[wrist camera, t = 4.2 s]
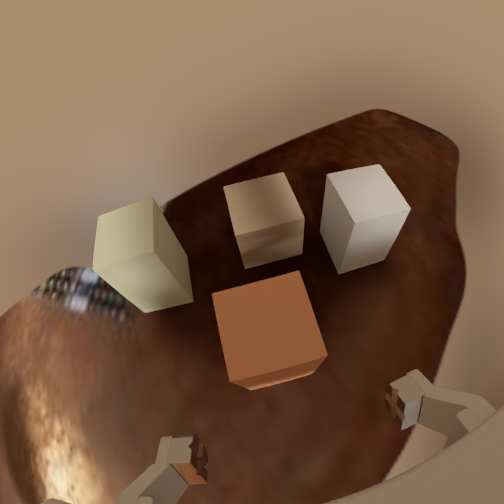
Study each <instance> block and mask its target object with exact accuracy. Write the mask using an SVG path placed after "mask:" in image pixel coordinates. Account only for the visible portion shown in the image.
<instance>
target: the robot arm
mask: <svg viewBox="0 0 504 504" xmlns="http://www.w3.org/2000/svg"><path fill="white" fill-rule="evenodd" d="M385 390H386V391H387V394H386V395H385V405H386V408H387V410H388V412H389V414H390V415H393V416H395V423H396V424H397V425H398V427H399V428H400V430H403V429H405V428H407V427H409V426H411V425H414V424H416V423H417V422H418V424H420V425H423V426H425V427H427V428H430V429H432V430H435V431H437V432H440V433H442V434H445V435H447V436H448V439H447V442H446V444H445V446H444V450H442V451H441V452H439V453H438V454H436V455H434V456H432V457H431V458H429V459H427V460H426V461H424V462H422V463H420V464H418V465H417V466H415V467H413V468H411V469H409V470H407V471H405V472H403V473H401V474H399V475H397V476H395V477H393V478H391V479H388V480H386V481H384V482H382V483H379V484H377V485H375V486H372V487H370V488H367V489H365V490H362V491H359V492H357V493H354V494H351V495H348V496H345V497H343V498H339V499H336V500H333V501H330V502H327V503H323V504H504V404H503V405H502V406H501V407H500V408H499V409H498V410H497V411H496V410H495V409H494V408H493V407H492V406H491V405H490V404H489V403H488V402H487V401H486V400H485V399H484V398H483V397H481V396H479V395H473V394H468V393H463V392H459V391H454V390H449V389H445V388H441V387H438V388H435V387H434V386H433V385H432V384H431V383H430V382H429V380H428V379H427V378H426V377H425V376H424V375H423V374H422V373H421V372H420V371H419V370H417V369H415V370H413V371H411V372H409V373H407V374H404V375H402V376H400V377H398V378H396V379H394V380H392V381H390V382H387V383H386V385H385ZM207 464H208V456H207V452H206V449H205V447H204V446H203V445H202V444H200V443H199V438H198V437H197V435H184V436H169V437H162V438H161V440H160V444H159V449H158V453H157V458H156V463H155V464H152V465H151V466H150V467H149V468H148V469H147V470H146V471H145V472H144V473H142V474H141V475H140V476H139V477H138V478H137V479H136V480H135V481H134V482H133V483H132V484H130V485H129V486H128V487H127V488H126V489H125V490H124V491H123V492H121V493H120V497H119V501H118V504H175V503H176V502H177V501H178V499H179V498H180V497H181V495H182V494H183V493H184V491H185V490H186V489H187V487H188V486H189V485H188V484H202V483H207V473H208V471H207V470H206V469H205V466H206V465H207ZM41 504H70V503H67V502H64V501H61V500H58V499H49V500H46V501H44V502H43V503H41Z"/></svg>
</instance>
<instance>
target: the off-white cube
mask: <svg viewBox="0 0 504 504" xmlns="http://www.w3.org/2000/svg"><path fill="white" fill-rule="evenodd" d="M223 188H224V192H225V196H226V200H227V204H228V208H229V212H230V217H231V221H232V225H233V229H234V233H235V237H236V240H237V244H238V247H239V250H240V254H241V257H242V261H243V264H244V267H245V269H247V268H251V267H255V266H259V265H263V264H266V263H270V262H274V261H278V260H281V259H285V258H289V257H292V256H296V255H300V254H302V251H303V236H304V220H305V218H304V215H303V213H302V211H301V209H300V207H299V204H298V202H297V200H296V198H295V196H294V193H293V191H292V189H291V187H290V185H289V183H288V181H287V178H286V176H285V174H284V172H282V173H277V174H273V175H268V176H264V177H260V178H256V179H252V180H247V181H243V182H239V183H236V184H232V185H228V186H224V187H223Z"/></svg>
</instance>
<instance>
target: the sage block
mask: <svg viewBox="0 0 504 504" xmlns="http://www.w3.org/2000/svg"><path fill="white" fill-rule="evenodd" d="M93 270H94V271H95V272H96V273H97V274H98V275H99V276H100V277H102V278H103V279H104V280H105V281H106V282H107V283H109V284H110V285H111V286H112V287H113V288H115V289H116V290H117V291H118V292H119V293H121V294H122V295H123V296H124V297H126V298H127V299H128V300H129V301H130V302H132V303H133V304H134V305H136V306H137V307H138V308H139V309H141V310H142V311H143V312H145V313H147V312H152V311H156V310H161V309H165V308H169V307H174V306H178V305H182V304H186V303H190V302H194V301H193V294H192V287H191V280H190V272H189V265H188V257H187V255H186V253H185V251H184V250H183V248H182V246H181V245H180V243H179V241H178V240H177V238H176V236H175V235H174V233H173V231H172V229H171V228H170V226H169V224H168V223H167V221H166V219H165V217H164V216H163V214H162V212H161V210H160V208H159V207H158V205H157V203H156V201H155V200H154V198H153V197H152V198H149V199H146V200H143V201H140V202H137V203H134V204H131V205H128V206H125V207H123V208H120V209H117V210H114V211H111V212H109V213H106V214H103V215H101V216H99V218H98V225H97V232H96V240H95V248H94V258H93Z"/></svg>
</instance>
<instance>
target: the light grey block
mask: <svg viewBox="0 0 504 504" xmlns="http://www.w3.org/2000/svg"><path fill="white" fill-rule="evenodd" d="M410 209H411V208H410V207H409V205H408V204H407V202H406V201H405V199H404V198H403V196H402V195H401V193H400V192H399V190H398V189H397V187H396V186H395V185H394V183H393V182H392V180H391V179H390V178H389V176H388V175H387V174H386V172H385V171H384V170H383V168H382V167H381V166H380V164H378V165H372V166H367V167H361V168H356V169H350V170H345V171H340V172H335V173H330V174H327V177H326V186H325V194H324V203H323V210H322V218H321V225H320V233H321V235H322V238H323V240H324V242H325V244H326V247H327V249H328V251H329V254H330V256H331V258H332V261H333V263H334V265H335V268H336V270H337V272H338V274H341V273H345V272H348V271H351V270H354V269H358V268H361V267H364V266H367V265H370V264H373V263H376V262H380V261H383V260H384V259H385V258H386V256H387V254H388V252H389V250H390V248H391V247H392V245H393V243H394V241H395V239H396V237H397V235H398V233H399V231H400V229H401V227H402V225H403V223H404V221H405V219H406V217H407V215H408V213H409V211H410Z"/></svg>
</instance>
